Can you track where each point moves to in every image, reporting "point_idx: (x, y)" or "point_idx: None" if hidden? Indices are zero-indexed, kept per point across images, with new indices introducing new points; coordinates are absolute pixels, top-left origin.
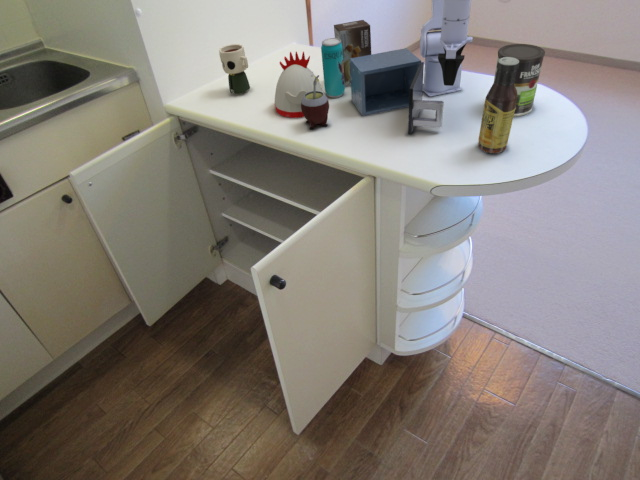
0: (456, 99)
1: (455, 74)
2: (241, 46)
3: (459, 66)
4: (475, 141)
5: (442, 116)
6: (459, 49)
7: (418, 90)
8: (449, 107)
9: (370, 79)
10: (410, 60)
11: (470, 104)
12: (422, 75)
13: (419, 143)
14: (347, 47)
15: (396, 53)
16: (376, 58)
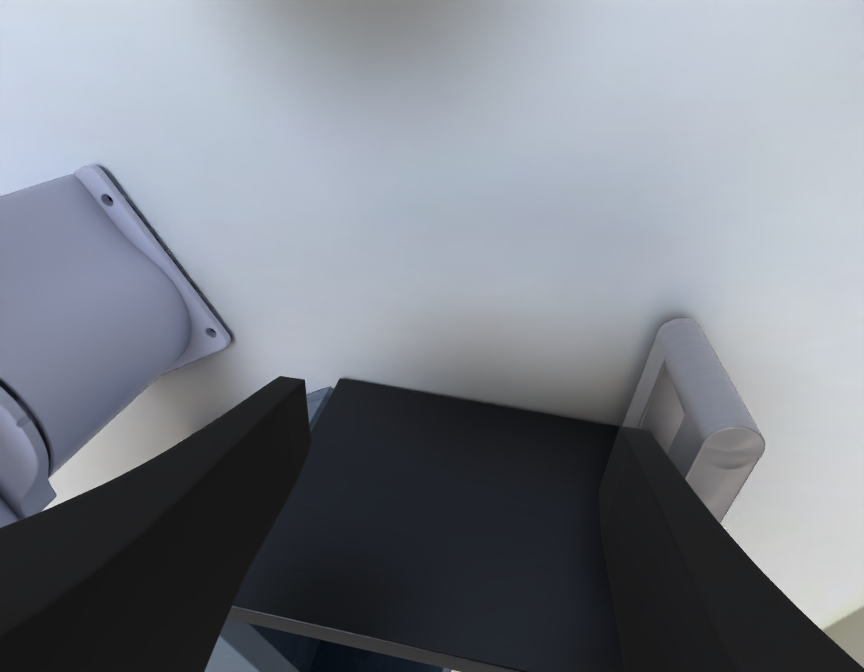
0: (221, 192)
1: (723, 540)
2: None
3: (861, 666)
4: (859, 71)
5: (707, 356)
6: (133, 590)
7: (467, 531)
8: (336, 237)
9: (266, 630)
10: (217, 662)
11: (271, 99)
12: (297, 532)
13: (775, 402)
14: None
15: None
16: None
